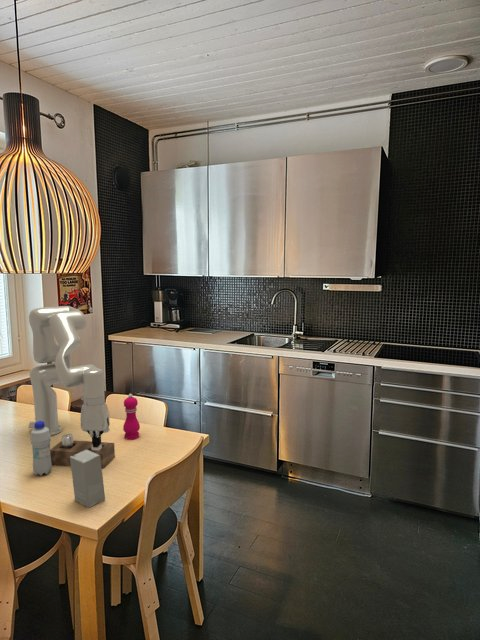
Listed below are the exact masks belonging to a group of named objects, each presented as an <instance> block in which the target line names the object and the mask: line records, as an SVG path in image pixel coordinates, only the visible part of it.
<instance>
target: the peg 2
mask: <svg viewBox="0 0 480 640" xmlns="http://www.w3.org/2000/svg"><path fill="white" fill-rule="evenodd" d="M101 449H102V444H100V445H99V446H98V447H93V445H92V446H91V450H97V451H100V450H101Z"/></svg>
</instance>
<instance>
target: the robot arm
mask: <svg viewBox="0 0 480 640" xmlns="http://www.w3.org/2000/svg"><path fill="white" fill-rule="evenodd" d="M87 322H88V321H87V318H86V316H85V313H84V312H83V311H81V310H80V309H78V308H75V307H72V306H70V305H60V306H47V307H46V306H44V307H37V308H34V309H31V310H30V312H29V314H28V323H29V326H30V329H31V332H32V350H33V351H32V354H33V359H34V361H35V362H36V363H37V364H41V365H37V366H35V367H33V368H32V369H31V370H30V372H29V379H30V383H31V386H32V393H33V394H32V395H33V407H34V421H35V422H34V421H30V422H29V423H28V428H30V429H35V426H34V424H35V423H36V422H38V421H43V422H44V423H45V427H47V428H49V432H50V436H51V437H52V436H56V435H57V434H60V433H61V432H62V431H63V427H62V426H61V425H59V414H58V398H57V393H56V390H55V389H53V388H52V387H51V386H52V385H56V384H62V386H63V387H66V388H74V387H79V386H83V390H82V391H83V396H81V397H80V400H81V401H82V402H83V404H82V405H81V410H80V428H81V430H82V431H83V432H84V433H85V432H86V433H88V435H89V436H90V438H91V442H92V444H93V447H98V446H99V445H100V444H101V442H102V436H103V434H106V433H109V432H110V427H109V426H110V425H111V424H110V422H111V421H110V413H109V408H108V403H107V402H106V401H105V384H104V383H105V380H104V379H105V378H104V371H103V369H102V368H99V367H97V366H96V365H94V364H92V363H89V364H83V365H77V366H72V353H73V352H74V351H75V350H77V349H78V348H79V347H80V346H81V344H82V340H81V338H80V335H79V333H78V331H81V330H84V329H85V328H86V326H87ZM45 363H46V364H45Z"/></svg>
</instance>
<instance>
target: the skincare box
mask: <svg viewBox="0 0 480 640" xmlns="http://www.w3.org/2000/svg"><path fill="white" fill-rule="evenodd" d="M70 463H71V467H70V470H71V478H72V485H73V486H72V487H73V493H74V494H73V495H74V501H75V502H78V503H79V504H81V505H83V506H84V507H87V508H91V507H93V506H95V505H97V504H98V503H101V502H104V501H105V500H106V496H105V494H106V493H105V486H104V478H103V469H102V468H101V459H100V455H98V454H96V453H94V452H91V451H89V450H85V451H82V452H80V453H78V454H75V455H73V456H70Z"/></svg>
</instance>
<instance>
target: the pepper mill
mask: <svg viewBox="0 0 480 640" xmlns="http://www.w3.org/2000/svg"><path fill="white" fill-rule="evenodd" d="M123 406H124V407H125V408H124V410H125V411H124V412H125V413H126V414H125V416H126V418H125V421H124V423H123V428H122V430H123V432H124V439H126V440H130V441H131V440H137V439H138V438H139V437H140V433H139V431H140V428H141V424H140V423H139V420H138V418H137V414H136V413H137V406H138V400H137V398H136V397H134V396H133V394H132V393H129V394H128V397H126V398H125V399H124V401H123Z"/></svg>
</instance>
